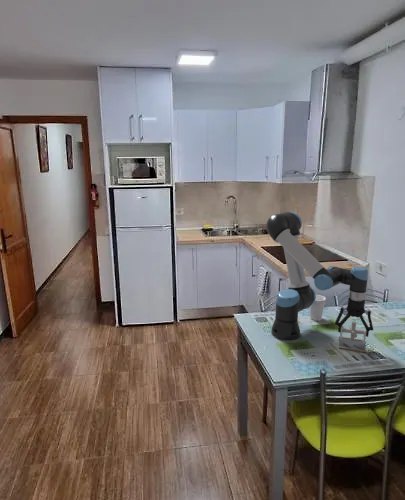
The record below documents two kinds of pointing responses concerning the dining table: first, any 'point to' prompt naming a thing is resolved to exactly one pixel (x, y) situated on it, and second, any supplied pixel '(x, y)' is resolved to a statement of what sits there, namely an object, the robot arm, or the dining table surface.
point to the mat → (352, 344)
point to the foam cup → (317, 307)
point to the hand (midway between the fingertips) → (352, 340)
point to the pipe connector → (353, 331)
